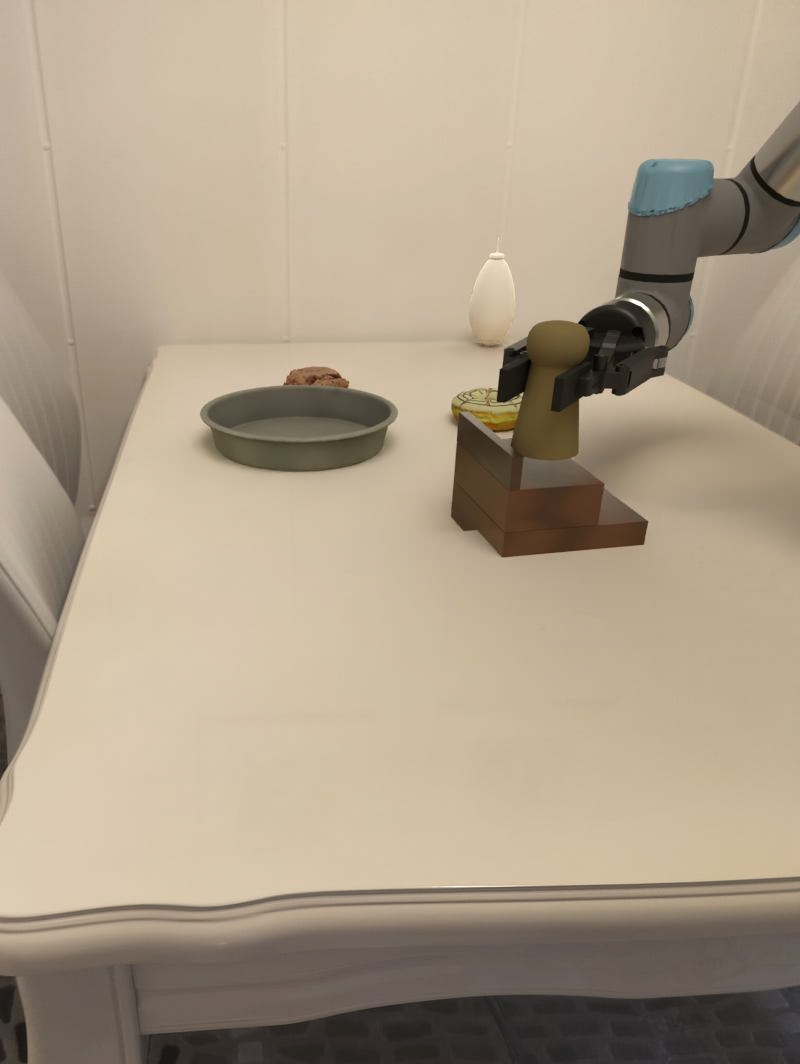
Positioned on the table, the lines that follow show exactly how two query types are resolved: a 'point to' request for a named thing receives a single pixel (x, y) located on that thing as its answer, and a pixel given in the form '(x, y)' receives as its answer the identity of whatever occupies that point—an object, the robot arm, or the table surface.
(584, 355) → the olive tall knobbed cone
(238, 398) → the cake pan
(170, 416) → the table surface
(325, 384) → the cookie
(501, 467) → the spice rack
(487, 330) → the sauce bottle
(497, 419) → the decorated donut
